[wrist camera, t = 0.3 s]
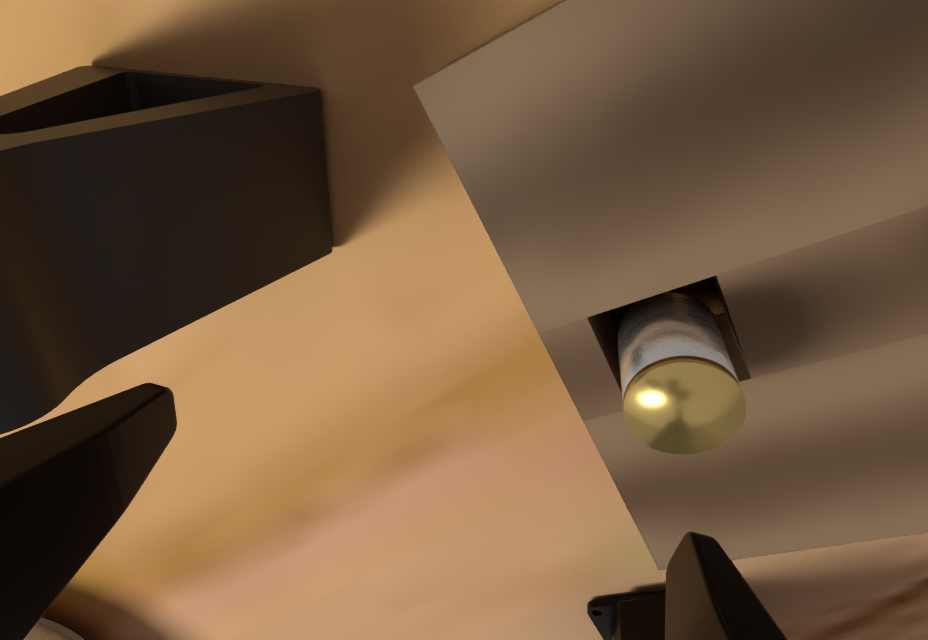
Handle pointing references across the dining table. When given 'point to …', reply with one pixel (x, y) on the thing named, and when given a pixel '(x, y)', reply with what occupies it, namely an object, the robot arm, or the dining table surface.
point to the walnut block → (723, 240)
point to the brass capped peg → (677, 376)
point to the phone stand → (143, 215)
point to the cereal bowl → (51, 631)
